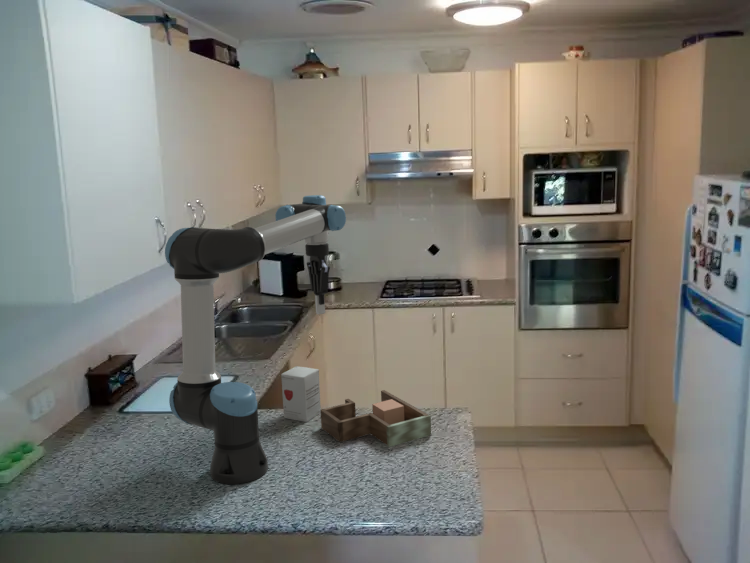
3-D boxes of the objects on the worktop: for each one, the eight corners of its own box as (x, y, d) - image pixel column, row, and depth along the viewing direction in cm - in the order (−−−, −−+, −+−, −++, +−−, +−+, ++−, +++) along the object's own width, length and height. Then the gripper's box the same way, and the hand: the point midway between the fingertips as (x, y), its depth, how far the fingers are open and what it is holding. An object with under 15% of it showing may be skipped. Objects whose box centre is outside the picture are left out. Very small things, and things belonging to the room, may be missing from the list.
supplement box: (282, 418, 217) (279, 373, 214) (298, 408, 225) (295, 365, 222) (306, 422, 213) (303, 377, 210) (321, 412, 220) (319, 368, 218)
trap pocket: (339, 442, 197) (338, 422, 196) (321, 428, 208) (320, 409, 207) (372, 433, 203) (371, 414, 202) (352, 420, 213) (351, 402, 212)
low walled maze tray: (389, 447, 193) (388, 427, 192) (345, 417, 216) (345, 399, 215) (431, 435, 200) (430, 415, 199) (384, 407, 223) (384, 389, 222)
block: (384, 433, 203) (384, 411, 202) (373, 425, 209) (372, 404, 207) (404, 427, 206) (403, 406, 205) (392, 420, 212) (391, 399, 211)
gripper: (336, 243, 217) (339, 315, 222) (318, 240, 228) (322, 308, 233) (314, 246, 214) (318, 319, 218) (298, 242, 225) (302, 311, 229)
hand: (320, 313), depth 225 cm, fingers closed
